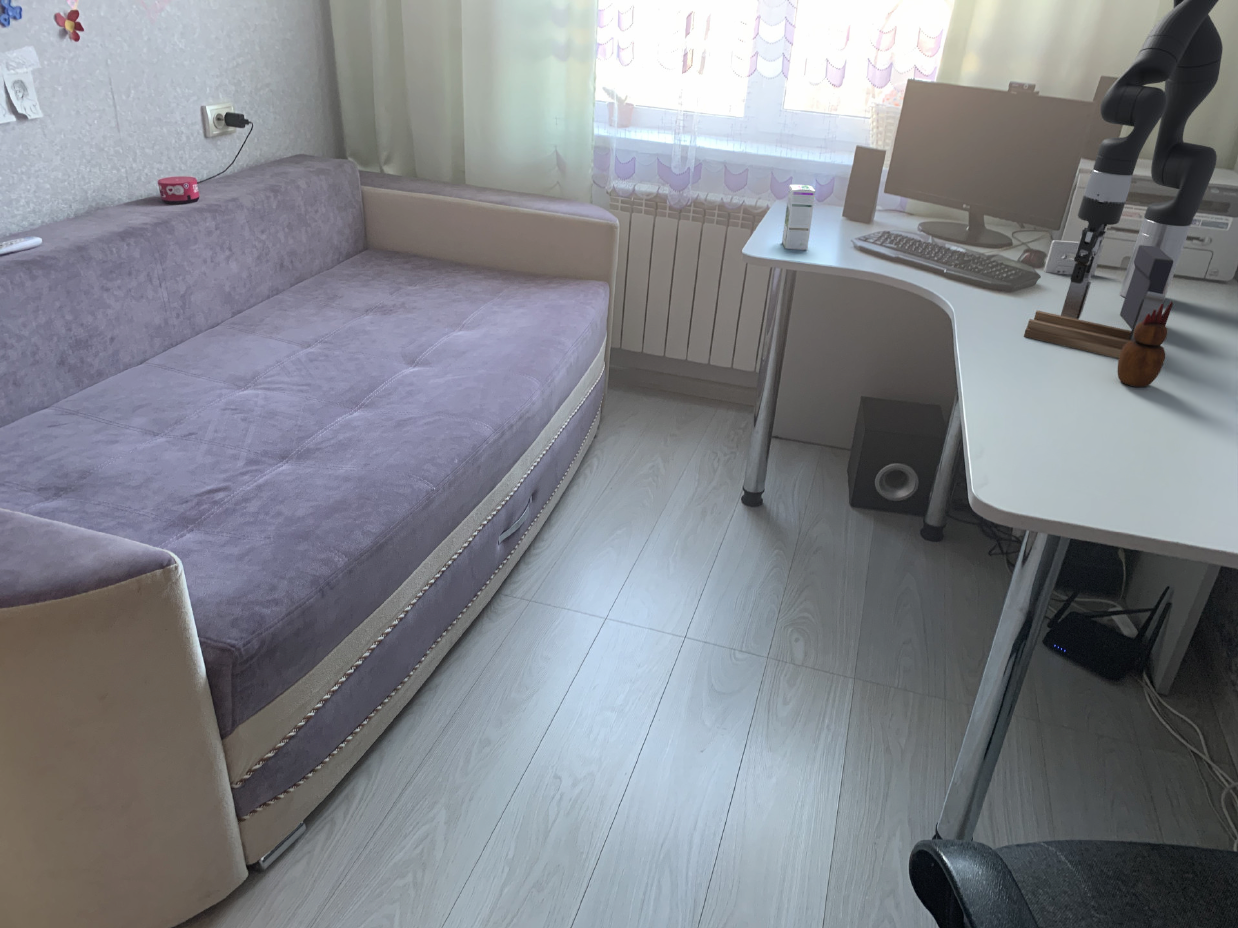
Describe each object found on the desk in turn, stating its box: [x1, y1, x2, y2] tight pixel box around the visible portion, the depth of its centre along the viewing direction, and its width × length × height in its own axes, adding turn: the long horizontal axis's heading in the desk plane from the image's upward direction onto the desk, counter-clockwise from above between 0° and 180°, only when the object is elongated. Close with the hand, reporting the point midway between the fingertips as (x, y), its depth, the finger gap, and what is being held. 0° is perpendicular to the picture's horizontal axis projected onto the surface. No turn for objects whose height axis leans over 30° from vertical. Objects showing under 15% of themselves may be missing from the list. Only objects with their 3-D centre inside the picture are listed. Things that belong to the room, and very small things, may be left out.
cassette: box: [1043, 239, 1104, 276], centre depth 224 cm, size 12×2×8 cm, turn 89°
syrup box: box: [781, 184, 816, 251], centre depth 229 cm, size 6×6×14 cm
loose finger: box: [1060, 273, 1093, 320], centre depth 190 cm, size 4×3×10 cm
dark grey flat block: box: [1119, 245, 1174, 329], centre depth 190 cm, size 11×4×15 cm, turn 168°
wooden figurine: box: [1116, 301, 1174, 388], centre depth 161 cm, size 7×6×15 cm
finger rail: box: [1023, 291, 1166, 359], centre depth 179 cm, size 10×23×12 cm, turn 57°
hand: (1079, 278), depth 188 cm, fingers open, 8 cm apart
